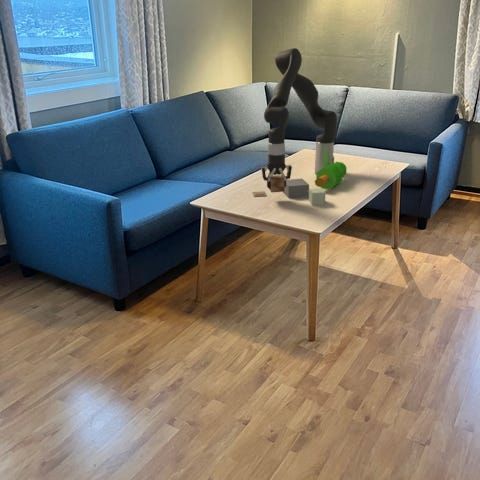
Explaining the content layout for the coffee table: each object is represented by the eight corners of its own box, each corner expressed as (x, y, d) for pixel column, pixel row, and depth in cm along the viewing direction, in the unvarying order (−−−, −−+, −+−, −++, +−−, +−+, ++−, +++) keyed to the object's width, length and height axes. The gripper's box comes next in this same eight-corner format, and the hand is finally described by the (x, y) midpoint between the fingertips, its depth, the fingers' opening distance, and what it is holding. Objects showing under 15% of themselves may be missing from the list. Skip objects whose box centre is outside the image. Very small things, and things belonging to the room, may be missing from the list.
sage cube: (321, 200, 244) (322, 188, 242) (324, 204, 239) (325, 192, 236) (308, 201, 243) (309, 188, 241) (312, 205, 238) (312, 193, 235)
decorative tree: (314, 167, 251) (340, 150, 273) (306, 186, 257) (332, 169, 280) (334, 179, 247) (359, 161, 269) (325, 198, 254) (350, 180, 276)
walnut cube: (281, 187, 245) (281, 175, 243) (284, 191, 240) (284, 178, 238) (269, 188, 245) (268, 175, 242) (271, 192, 239) (271, 179, 237)
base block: (301, 190, 258) (301, 178, 256) (308, 196, 250) (309, 184, 247) (282, 192, 256) (282, 180, 254) (288, 198, 248) (288, 186, 245)
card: (264, 192, 256) (264, 190, 256) (266, 196, 251) (266, 194, 250) (252, 192, 255) (252, 191, 255) (254, 196, 250) (254, 195, 250)
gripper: (290, 149, 239) (290, 184, 246) (259, 151, 238) (259, 186, 245) (294, 153, 232) (293, 189, 239) (261, 155, 231) (262, 191, 238)
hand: (276, 188), depth 242 cm, fingers closed on walnut cube, 6 cm apart
